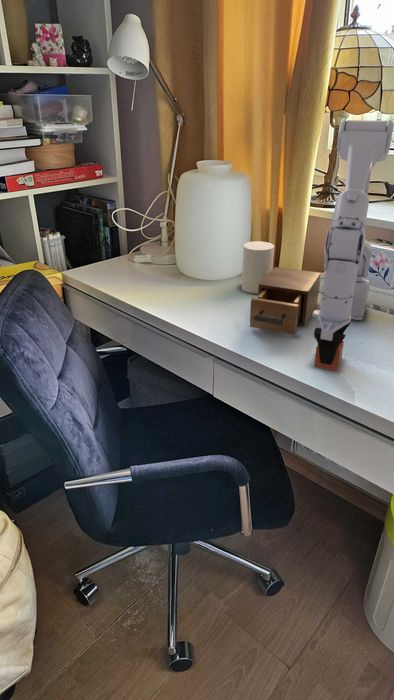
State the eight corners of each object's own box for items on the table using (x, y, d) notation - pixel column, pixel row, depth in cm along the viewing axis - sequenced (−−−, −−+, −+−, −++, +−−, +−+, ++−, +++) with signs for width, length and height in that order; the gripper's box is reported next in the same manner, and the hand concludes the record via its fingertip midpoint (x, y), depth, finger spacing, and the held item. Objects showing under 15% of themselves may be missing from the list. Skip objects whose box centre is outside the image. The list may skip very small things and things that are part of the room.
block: (341, 360, 96) (344, 340, 94) (337, 371, 93) (340, 350, 91) (318, 356, 98) (321, 336, 96) (313, 366, 95) (316, 346, 92)
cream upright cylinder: (270, 283, 135) (273, 241, 130) (271, 294, 128) (274, 250, 123) (242, 282, 136) (243, 241, 130) (241, 293, 129) (243, 249, 123)
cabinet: (304, 326, 111) (308, 291, 107) (256, 317, 115) (258, 284, 111) (316, 304, 122) (320, 272, 117) (272, 298, 126) (275, 266, 122)
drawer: (289, 343, 101) (292, 314, 98) (243, 334, 105) (244, 306, 102) (307, 313, 115) (310, 287, 111) (265, 306, 118) (267, 280, 115)
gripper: (323, 277, 96) (316, 338, 102) (307, 304, 84) (299, 370, 91) (360, 282, 93) (349, 344, 100) (348, 310, 81) (337, 378, 88)
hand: (328, 357), depth 95 cm, fingers closed on block, 4 cm apart
